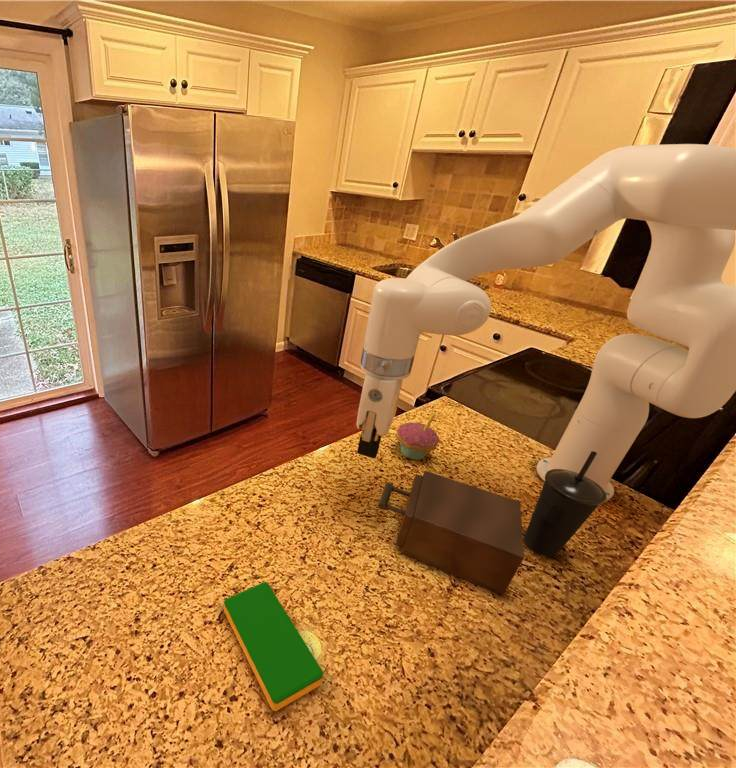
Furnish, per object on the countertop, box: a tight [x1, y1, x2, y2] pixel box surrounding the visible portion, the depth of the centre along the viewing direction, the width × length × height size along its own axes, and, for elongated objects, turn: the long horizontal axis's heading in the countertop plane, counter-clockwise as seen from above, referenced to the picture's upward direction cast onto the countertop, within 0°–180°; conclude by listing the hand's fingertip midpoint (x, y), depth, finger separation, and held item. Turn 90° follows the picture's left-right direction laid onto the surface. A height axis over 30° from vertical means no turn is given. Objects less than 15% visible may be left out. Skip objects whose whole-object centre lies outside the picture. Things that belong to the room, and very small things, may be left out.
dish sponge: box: [223, 581, 324, 712], centre depth 54 cm, size 7×14×2 cm, turn 25°
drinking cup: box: [523, 451, 607, 558], centre depth 65 cm, size 8×8×20 cm
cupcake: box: [395, 411, 441, 461], centre depth 89 cm, size 9×8×12 cm
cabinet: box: [401, 470, 525, 596], centre depth 68 cm, size 15×13×9 cm
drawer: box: [377, 473, 423, 548], centre depth 69 cm, size 18×11×7 cm, turn 60°
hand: (367, 453), depth 73 cm, fingers closed
